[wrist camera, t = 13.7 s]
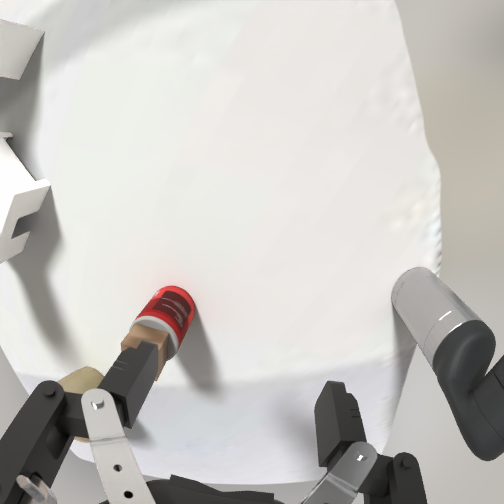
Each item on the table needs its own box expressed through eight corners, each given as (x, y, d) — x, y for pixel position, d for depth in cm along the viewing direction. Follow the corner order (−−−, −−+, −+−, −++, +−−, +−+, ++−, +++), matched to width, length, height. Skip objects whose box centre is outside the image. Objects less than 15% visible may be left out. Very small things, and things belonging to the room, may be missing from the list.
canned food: (157, 321, 50) (134, 358, 40) (152, 282, 48) (123, 314, 37) (197, 326, 50) (180, 366, 40) (194, 285, 47) (173, 321, 37)
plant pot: (118, 368, 56) (87, 417, 41) (121, 406, 61) (97, 451, 46) (66, 344, 56) (30, 385, 41) (74, 384, 61) (46, 423, 46)
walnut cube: (168, 332, 38) (156, 354, 33) (167, 358, 39) (156, 381, 35) (135, 323, 38) (120, 343, 33) (136, 349, 39) (123, 370, 35)
